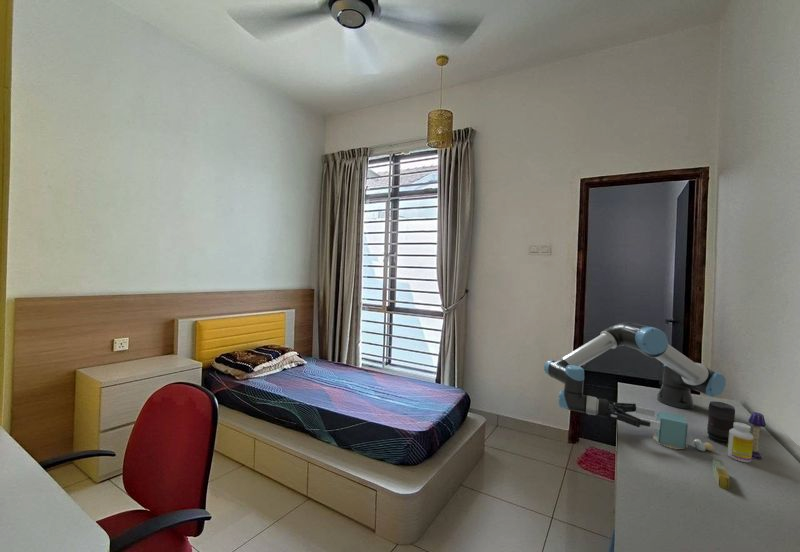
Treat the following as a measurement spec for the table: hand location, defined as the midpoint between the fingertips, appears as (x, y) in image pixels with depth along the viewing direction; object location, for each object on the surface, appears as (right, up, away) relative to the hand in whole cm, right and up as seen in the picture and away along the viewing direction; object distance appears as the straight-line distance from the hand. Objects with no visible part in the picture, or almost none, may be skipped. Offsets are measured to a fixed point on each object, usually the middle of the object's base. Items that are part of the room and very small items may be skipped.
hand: (657, 419), depth 145 cm
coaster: (+4, -9, -2) cm, 10 cm away
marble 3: (+15, -10, -6) cm, 19 cm away
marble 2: (+12, -9, -7) cm, 17 cm away
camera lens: (+27, -10, +3) cm, 29 cm away
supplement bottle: (+23, -10, -11) cm, 27 cm away
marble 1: (+13, -9, -4) cm, 17 cm away
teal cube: (+4, -8, -2) cm, 9 cm away
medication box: (+3, -10, -25) cm, 27 cm away
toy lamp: (+30, -11, -9) cm, 33 cm away
